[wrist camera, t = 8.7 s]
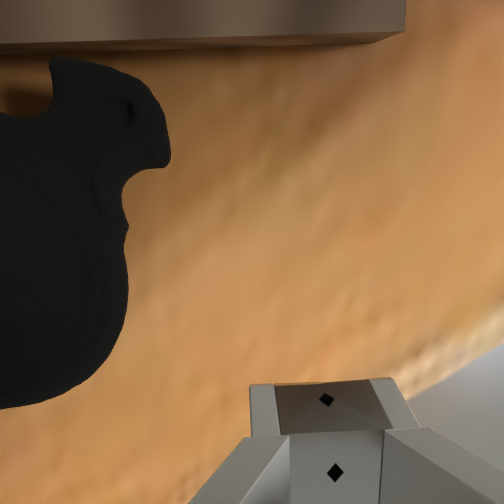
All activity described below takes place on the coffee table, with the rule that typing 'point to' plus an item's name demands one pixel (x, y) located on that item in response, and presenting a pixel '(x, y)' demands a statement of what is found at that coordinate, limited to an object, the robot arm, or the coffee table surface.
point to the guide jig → (191, 24)
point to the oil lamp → (69, 225)
